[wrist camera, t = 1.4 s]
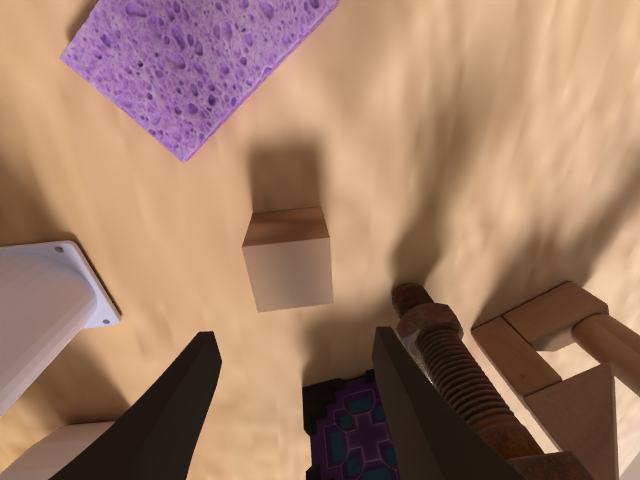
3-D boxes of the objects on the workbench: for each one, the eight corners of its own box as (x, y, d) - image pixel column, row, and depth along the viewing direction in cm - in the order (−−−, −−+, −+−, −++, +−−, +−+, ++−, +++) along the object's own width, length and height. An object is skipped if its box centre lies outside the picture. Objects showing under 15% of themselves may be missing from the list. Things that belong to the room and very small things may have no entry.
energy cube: (301, 386, 29) (308, 545, 19) (403, 359, 29) (467, 506, 19) (327, 435, 35) (343, 576, 25) (412, 413, 35) (465, 548, 24)
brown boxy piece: (264, 268, 21) (258, 312, 17) (253, 212, 19) (241, 247, 14) (324, 261, 22) (333, 303, 17) (320, 206, 19) (329, 237, 15)
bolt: (406, 260, 22) (574, 491, 9) (446, 280, 24) (639, 502, 11) (367, 306, 24) (458, 547, 11) (407, 322, 26) (526, 549, 13)
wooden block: (468, 330, 28) (705, 636, 12) (569, 278, 25) (1026, 570, 10) (478, 347, 29) (699, 636, 13) (574, 299, 27) (972, 579, 11)
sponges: (337, 7, 14) (343, -5, 12) (189, 161, 17) (179, 167, 15) (239, -160, 11) (230, -205, 9) (81, 62, 14) (53, 57, 12)
